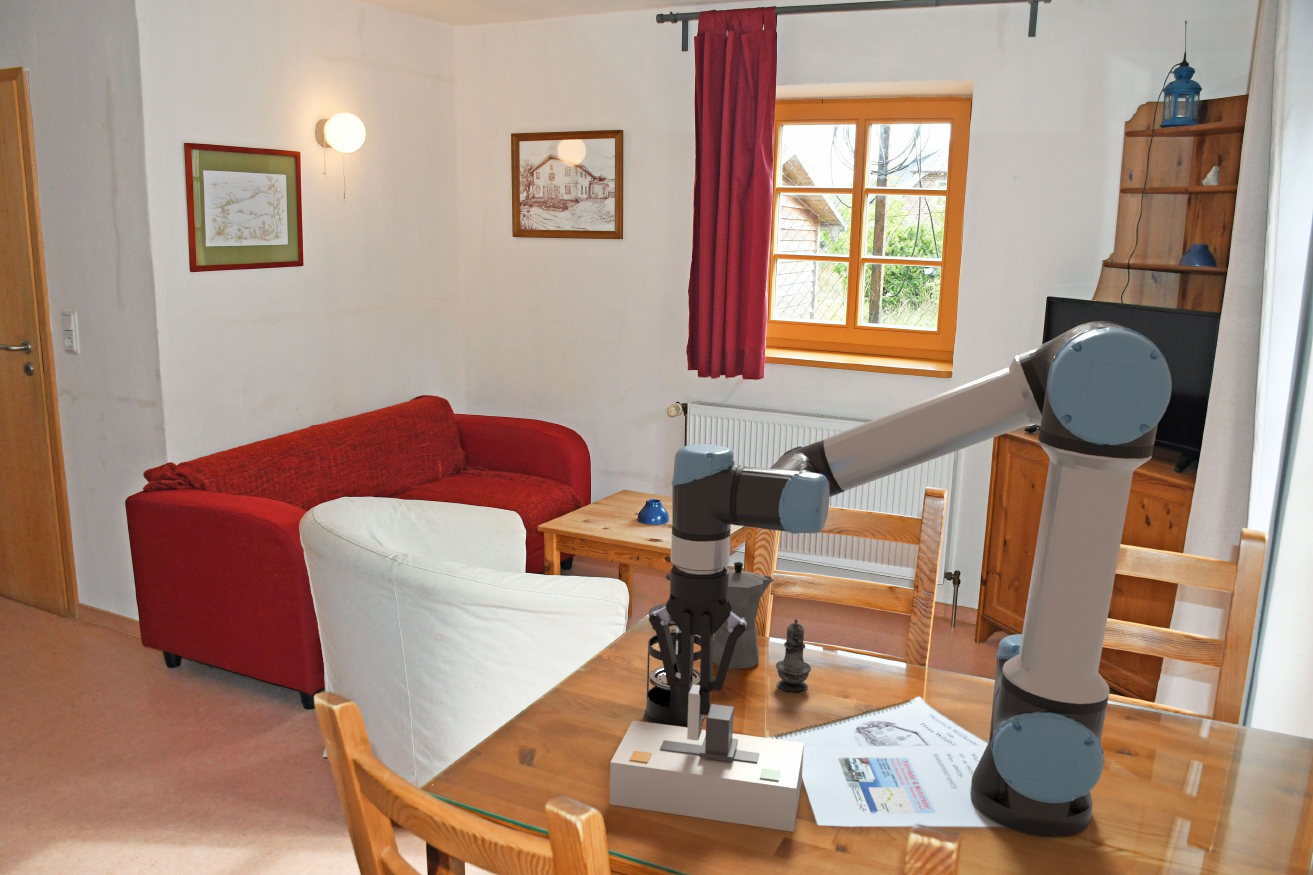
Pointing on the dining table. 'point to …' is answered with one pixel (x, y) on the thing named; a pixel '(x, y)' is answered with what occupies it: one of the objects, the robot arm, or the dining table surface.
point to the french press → (662, 689)
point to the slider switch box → (708, 777)
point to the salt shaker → (793, 662)
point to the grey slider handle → (719, 734)
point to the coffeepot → (745, 604)
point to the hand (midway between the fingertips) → (694, 734)
